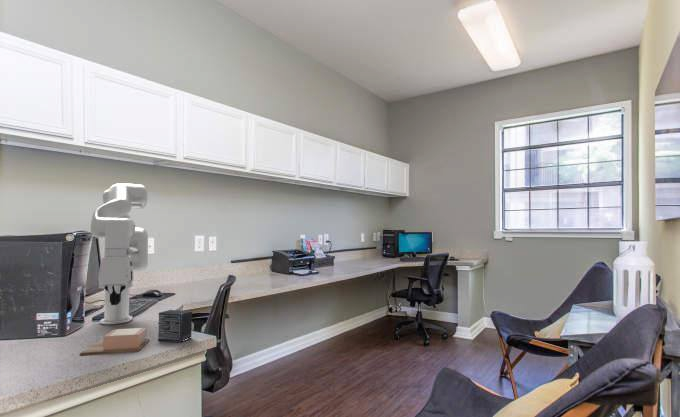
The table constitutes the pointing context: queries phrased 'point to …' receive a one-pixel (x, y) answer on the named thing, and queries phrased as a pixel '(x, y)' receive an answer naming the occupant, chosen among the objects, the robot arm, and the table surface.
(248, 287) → the table surface
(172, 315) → the small box
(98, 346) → the walnut board
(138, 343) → the tan wooden block
